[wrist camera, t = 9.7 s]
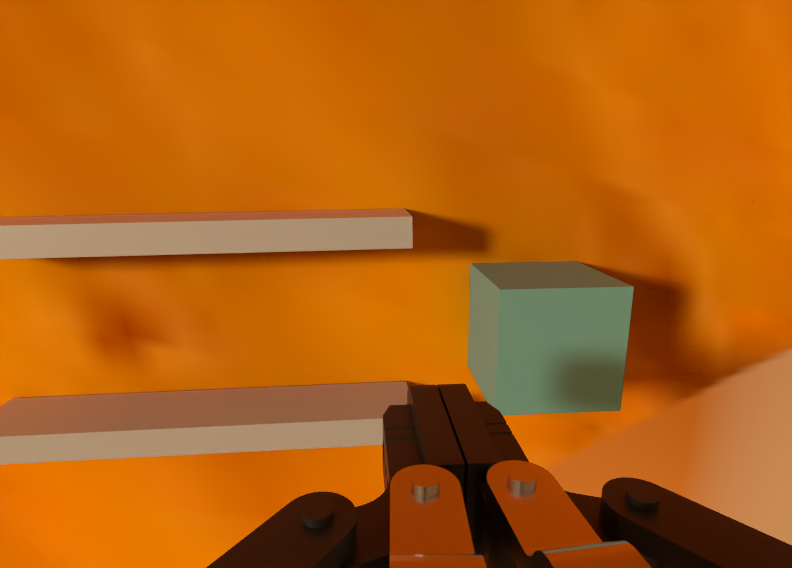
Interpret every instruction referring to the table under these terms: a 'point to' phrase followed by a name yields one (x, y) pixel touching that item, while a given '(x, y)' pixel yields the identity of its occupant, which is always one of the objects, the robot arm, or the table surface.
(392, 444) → the robot arm
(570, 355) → the teal block
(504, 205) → the table surface
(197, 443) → the grey channel
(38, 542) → the table surface
